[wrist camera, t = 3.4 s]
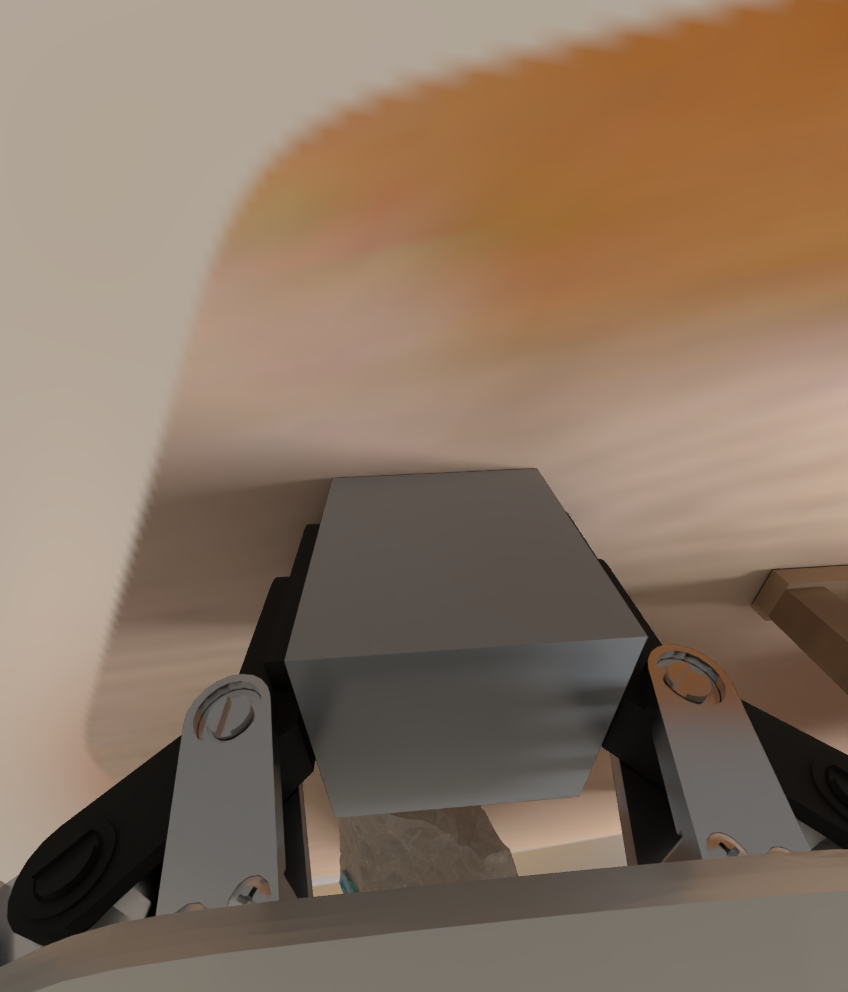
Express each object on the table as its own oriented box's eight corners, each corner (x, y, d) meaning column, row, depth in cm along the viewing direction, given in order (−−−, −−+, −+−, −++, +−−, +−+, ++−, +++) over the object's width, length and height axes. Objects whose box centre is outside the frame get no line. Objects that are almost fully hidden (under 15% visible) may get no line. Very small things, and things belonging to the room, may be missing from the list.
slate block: (537, 468, 10) (648, 636, 6) (515, 609, 12) (579, 796, 8) (332, 478, 10) (284, 660, 5) (355, 619, 12) (335, 818, 8)
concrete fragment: (351, 850, 22) (338, 1030, 17) (323, 711, 15) (286, 955, 10) (475, 841, 23) (499, 1013, 18) (507, 702, 15) (565, 930, 10)
